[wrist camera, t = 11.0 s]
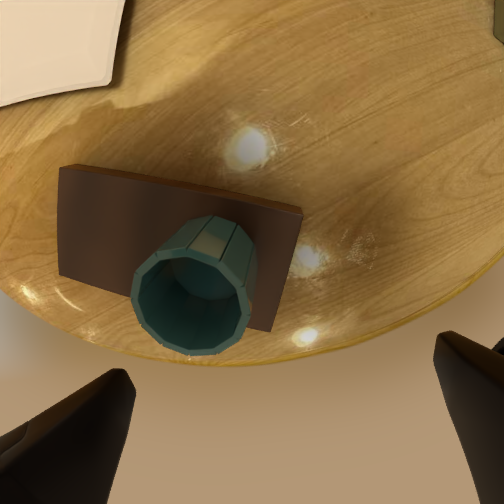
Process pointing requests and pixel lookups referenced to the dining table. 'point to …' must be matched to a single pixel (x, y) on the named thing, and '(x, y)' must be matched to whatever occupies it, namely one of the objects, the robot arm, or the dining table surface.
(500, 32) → the stand
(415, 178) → the dining table surface
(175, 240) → the cup
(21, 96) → the plate
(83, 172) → the block
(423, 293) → the dining table surface
